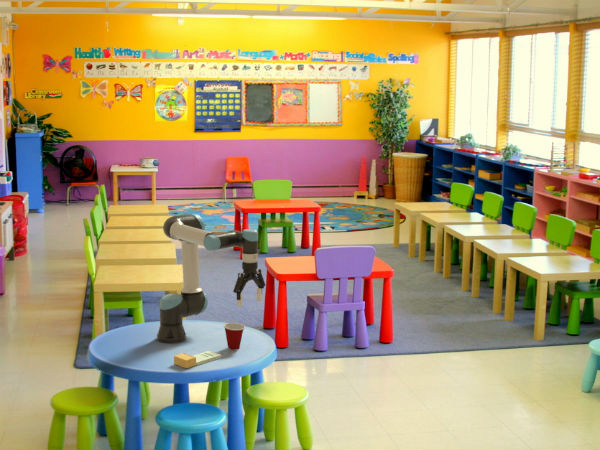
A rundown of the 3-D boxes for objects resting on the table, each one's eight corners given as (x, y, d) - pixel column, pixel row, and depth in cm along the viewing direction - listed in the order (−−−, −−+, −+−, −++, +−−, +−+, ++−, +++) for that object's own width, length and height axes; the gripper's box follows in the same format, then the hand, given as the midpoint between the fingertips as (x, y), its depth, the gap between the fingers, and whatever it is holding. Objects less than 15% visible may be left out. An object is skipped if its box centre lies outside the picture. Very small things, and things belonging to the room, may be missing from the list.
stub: (174, 363, 388) (173, 355, 387) (183, 360, 392) (183, 352, 392) (186, 368, 382) (186, 359, 381) (196, 365, 386) (196, 356, 386)
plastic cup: (241, 352, 407) (241, 329, 405) (221, 350, 409) (221, 327, 407) (247, 345, 417) (247, 323, 415) (227, 344, 420) (227, 321, 417)
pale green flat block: (184, 361, 392) (184, 358, 392) (208, 353, 404) (208, 350, 404) (196, 365, 387) (196, 362, 386) (221, 357, 398) (221, 354, 398)
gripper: (237, 266, 383) (237, 310, 386) (272, 258, 401) (272, 300, 405) (226, 264, 387) (225, 307, 391) (261, 256, 406) (261, 297, 410)
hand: (249, 303), depth 398 cm, fingers open, 13 cm apart
